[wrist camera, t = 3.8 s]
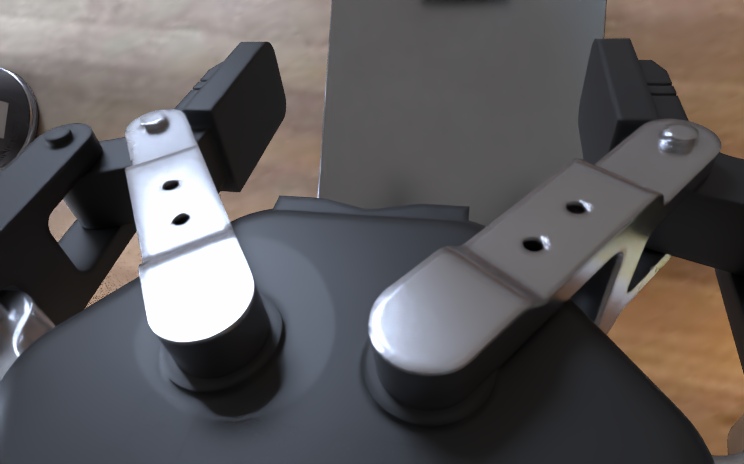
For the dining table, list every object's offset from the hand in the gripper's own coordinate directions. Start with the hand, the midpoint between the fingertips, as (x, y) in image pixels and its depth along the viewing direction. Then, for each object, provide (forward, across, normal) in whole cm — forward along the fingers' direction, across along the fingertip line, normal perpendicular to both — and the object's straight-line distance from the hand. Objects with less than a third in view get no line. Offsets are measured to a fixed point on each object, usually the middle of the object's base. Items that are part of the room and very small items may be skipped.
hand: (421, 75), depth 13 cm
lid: (+13, 0, +7) cm, 15 cm away
